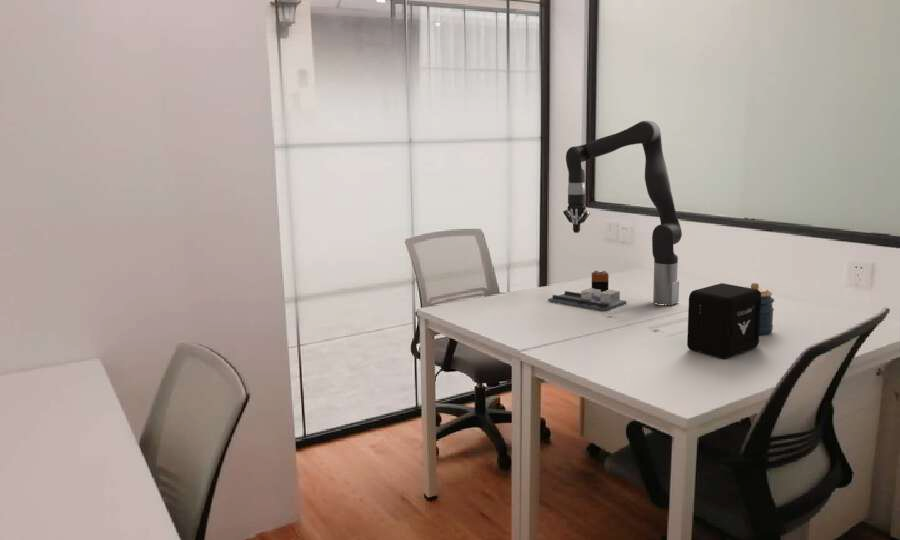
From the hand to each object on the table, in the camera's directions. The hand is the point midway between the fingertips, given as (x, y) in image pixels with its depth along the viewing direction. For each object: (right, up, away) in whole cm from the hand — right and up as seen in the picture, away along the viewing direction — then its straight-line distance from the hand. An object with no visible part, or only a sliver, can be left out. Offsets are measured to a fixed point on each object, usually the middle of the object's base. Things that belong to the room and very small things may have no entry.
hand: (576, 232), depth 317 cm
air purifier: (+35, -43, -79) cm, 97 cm away
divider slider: (+2, -29, -16) cm, 33 cm away
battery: (+11, -27, +3) cm, 29 cm away
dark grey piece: (+2, -30, -13) cm, 33 cm away
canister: (+52, -38, -60) cm, 88 cm away
